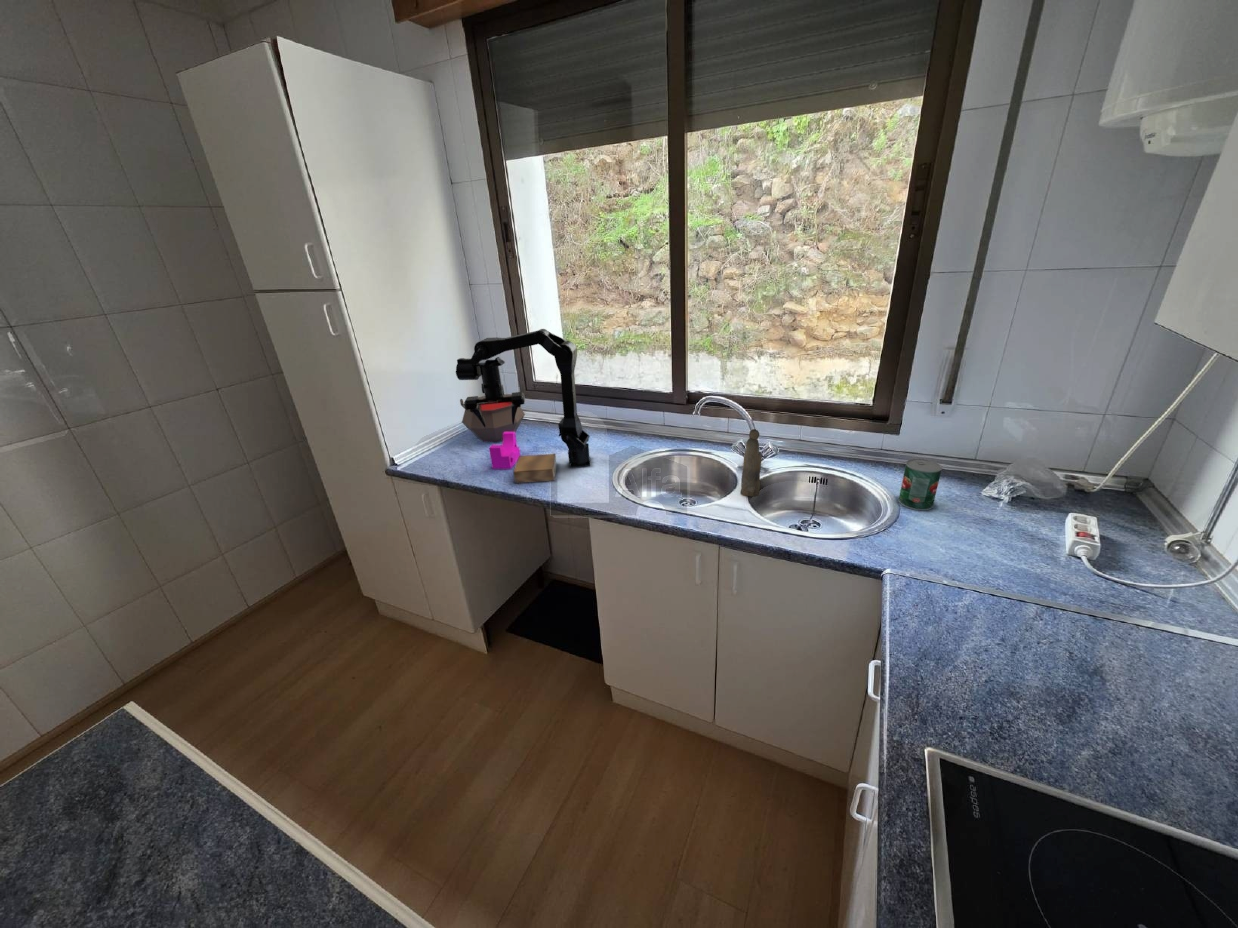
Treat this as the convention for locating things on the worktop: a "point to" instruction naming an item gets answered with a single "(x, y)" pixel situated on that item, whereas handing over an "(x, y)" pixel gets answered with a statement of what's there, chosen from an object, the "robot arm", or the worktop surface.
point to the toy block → (505, 452)
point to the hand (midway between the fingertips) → (499, 425)
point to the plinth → (535, 468)
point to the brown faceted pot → (493, 420)
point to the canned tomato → (919, 484)
